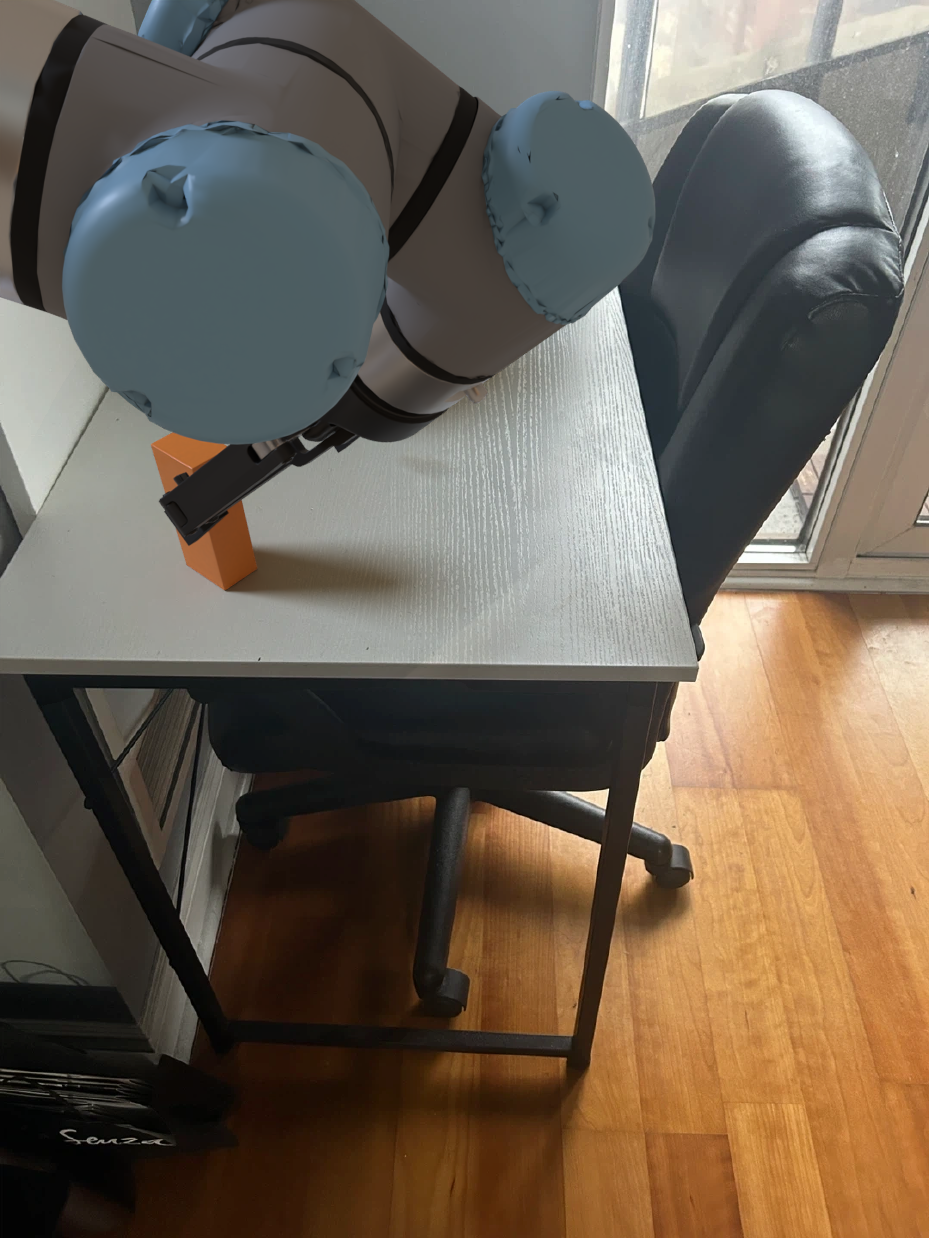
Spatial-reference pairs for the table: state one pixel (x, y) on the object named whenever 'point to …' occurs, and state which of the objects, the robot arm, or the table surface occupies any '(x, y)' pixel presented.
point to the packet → (228, 542)
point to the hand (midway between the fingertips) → (260, 478)
